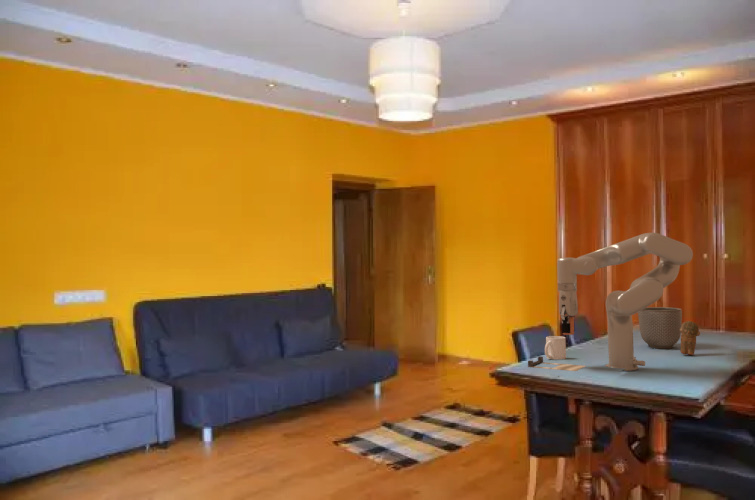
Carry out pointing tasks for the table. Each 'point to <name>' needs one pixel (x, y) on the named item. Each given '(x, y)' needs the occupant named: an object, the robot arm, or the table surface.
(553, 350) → the mug
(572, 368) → the shelf board
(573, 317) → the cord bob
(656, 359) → the table surface
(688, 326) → the figurine
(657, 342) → the planter
